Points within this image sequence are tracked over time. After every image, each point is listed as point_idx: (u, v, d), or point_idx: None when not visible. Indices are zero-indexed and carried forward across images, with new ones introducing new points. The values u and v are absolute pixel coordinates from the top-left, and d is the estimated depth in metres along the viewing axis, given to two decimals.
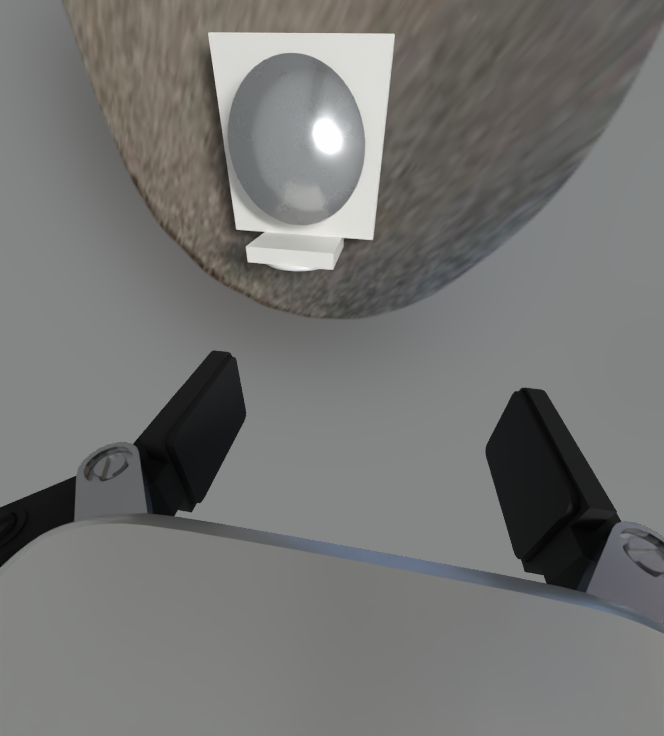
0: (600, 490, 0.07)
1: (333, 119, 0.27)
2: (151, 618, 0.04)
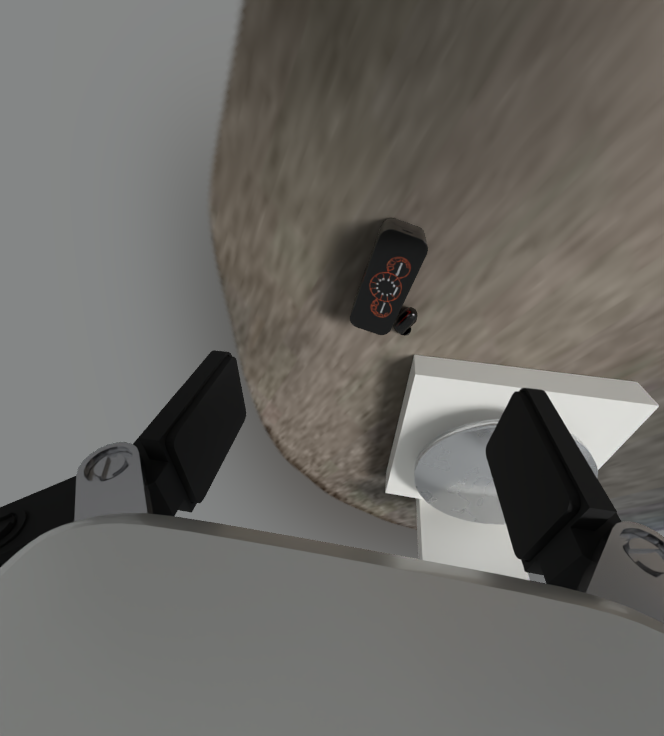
0: (600, 490, 0.07)
1: None
2: (151, 618, 0.04)
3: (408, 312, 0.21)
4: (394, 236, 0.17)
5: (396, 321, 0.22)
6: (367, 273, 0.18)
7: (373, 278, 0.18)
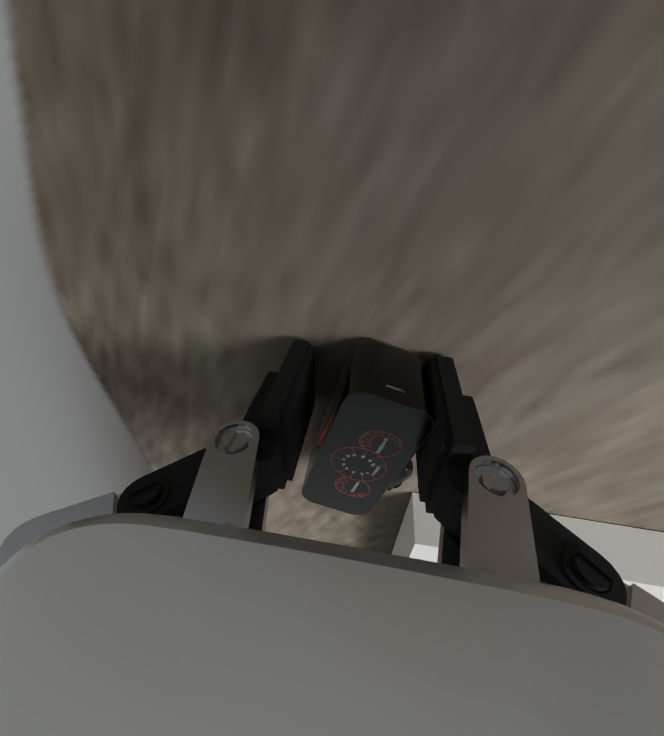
0: (469, 431, 0.08)
1: None
2: (151, 618, 0.04)
3: None
4: (371, 403, 0.09)
5: None
6: (325, 445, 0.10)
7: (336, 452, 0.10)
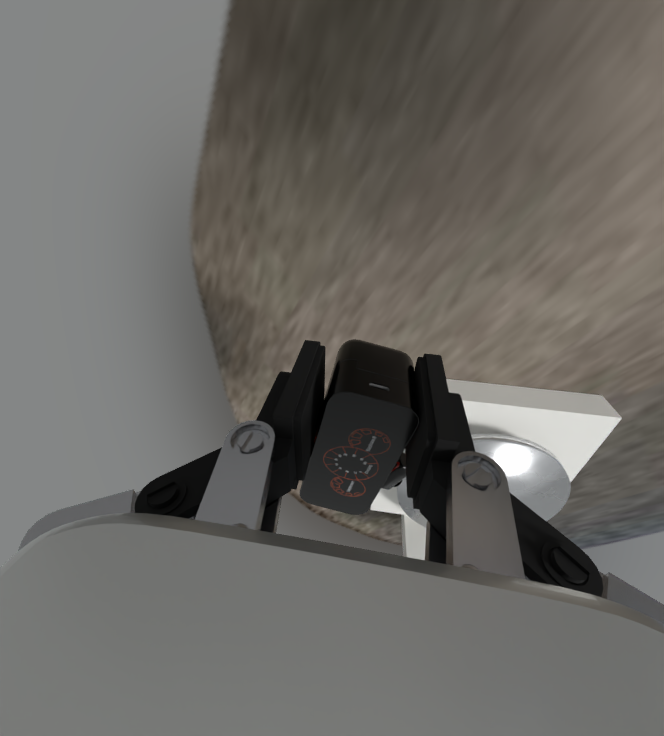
0: (453, 427, 0.08)
1: (535, 485, 0.24)
2: (151, 618, 0.04)
3: (395, 464, 0.13)
4: (355, 401, 0.09)
5: None
6: (316, 446, 0.10)
7: (328, 453, 0.10)
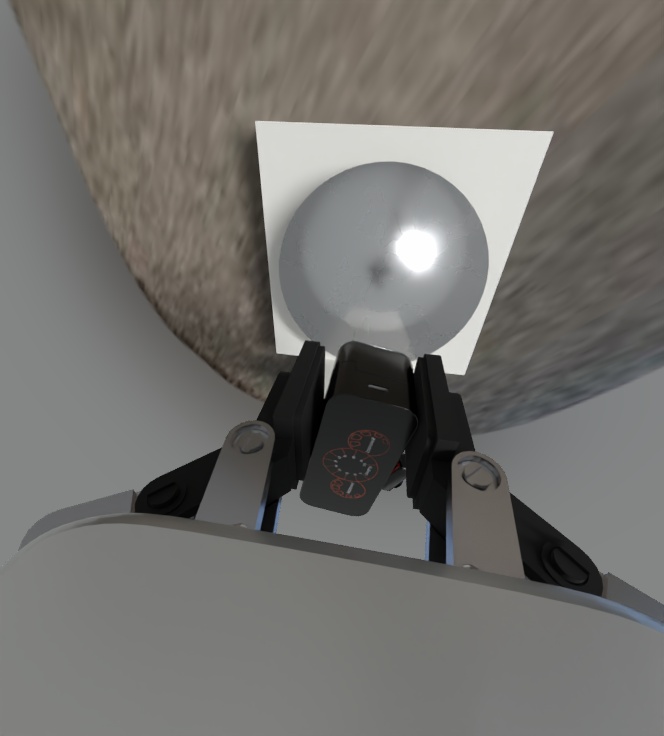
0: (453, 427, 0.08)
1: (443, 249, 0.18)
2: (151, 618, 0.04)
3: (395, 465, 0.13)
4: (354, 403, 0.09)
5: None
6: (315, 448, 0.10)
7: (327, 454, 0.10)
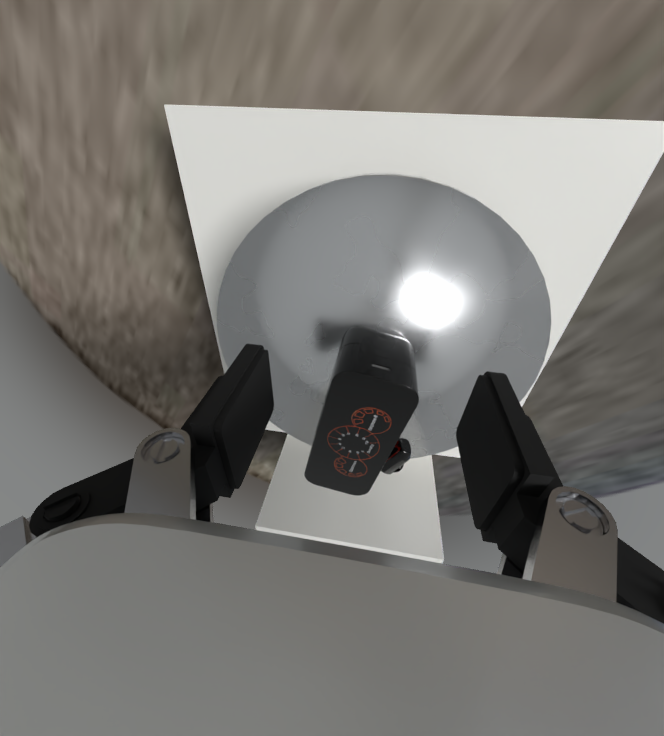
0: (543, 459, 0.07)
1: (476, 317, 0.11)
2: (151, 618, 0.04)
3: (396, 449, 0.14)
4: (358, 380, 0.09)
5: None
6: (321, 426, 0.11)
7: (331, 432, 0.11)
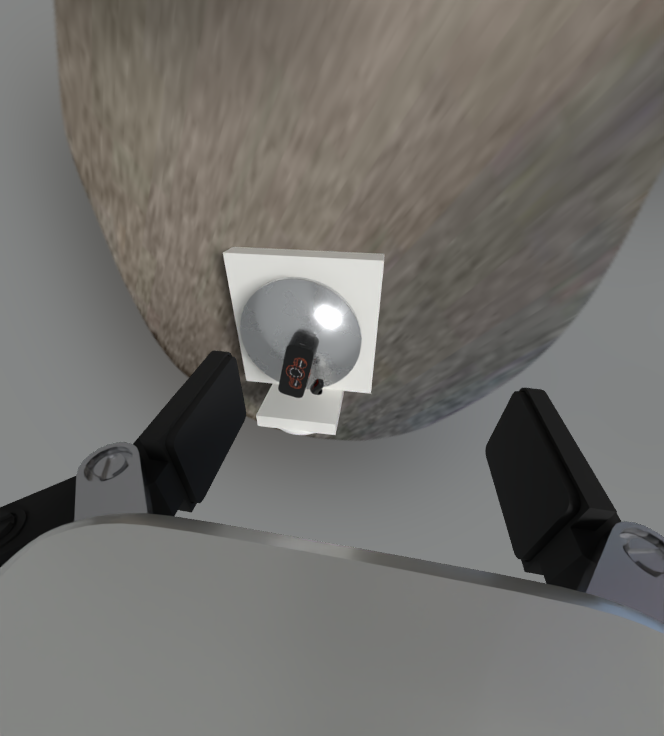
0: (600, 490, 0.07)
1: (332, 322, 0.31)
2: (151, 618, 0.04)
3: (317, 382, 0.34)
4: (294, 348, 0.30)
5: (311, 387, 0.35)
6: (283, 365, 0.31)
7: (287, 368, 0.31)
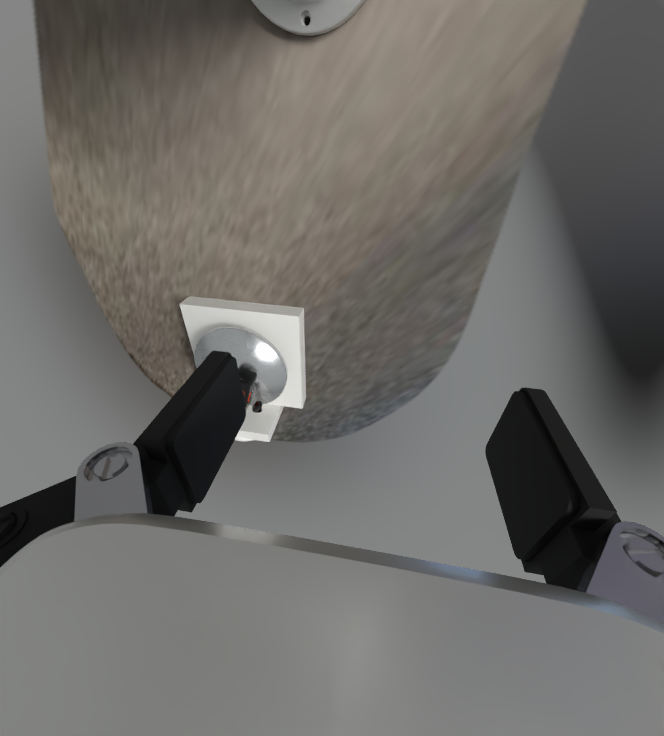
0: (600, 490, 0.07)
1: (263, 359, 0.41)
2: (151, 618, 0.04)
3: (256, 404, 0.44)
4: None
5: (252, 406, 0.45)
6: None
7: None
